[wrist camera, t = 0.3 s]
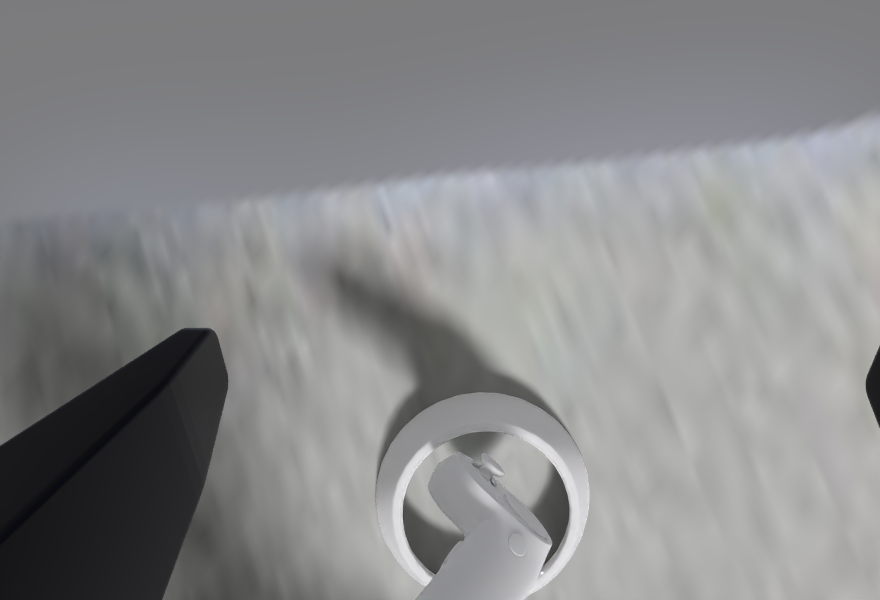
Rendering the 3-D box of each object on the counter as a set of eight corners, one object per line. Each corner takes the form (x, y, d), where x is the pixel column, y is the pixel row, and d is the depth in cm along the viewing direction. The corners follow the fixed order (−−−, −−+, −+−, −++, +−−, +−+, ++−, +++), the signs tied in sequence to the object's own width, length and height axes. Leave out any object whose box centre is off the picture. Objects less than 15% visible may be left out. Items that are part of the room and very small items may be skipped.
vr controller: (172, 655, 19) (245, 552, 15) (405, 436, 28) (490, 334, 24) (357, 869, 18) (494, 824, 14) (536, 567, 27) (650, 484, 23)
